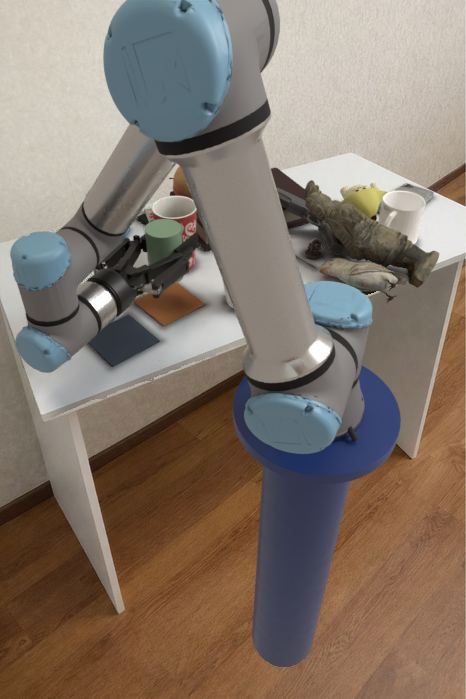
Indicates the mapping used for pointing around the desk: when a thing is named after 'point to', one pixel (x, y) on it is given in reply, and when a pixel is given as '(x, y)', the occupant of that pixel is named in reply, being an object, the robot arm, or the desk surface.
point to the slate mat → (122, 340)
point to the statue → (370, 237)
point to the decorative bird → (364, 275)
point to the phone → (415, 189)
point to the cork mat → (169, 304)
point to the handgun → (311, 220)
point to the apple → (180, 184)
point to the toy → (364, 198)
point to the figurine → (313, 250)
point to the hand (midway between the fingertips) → (180, 234)
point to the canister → (162, 239)
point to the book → (290, 218)
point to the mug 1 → (178, 216)
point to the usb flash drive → (146, 216)
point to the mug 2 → (403, 212)
